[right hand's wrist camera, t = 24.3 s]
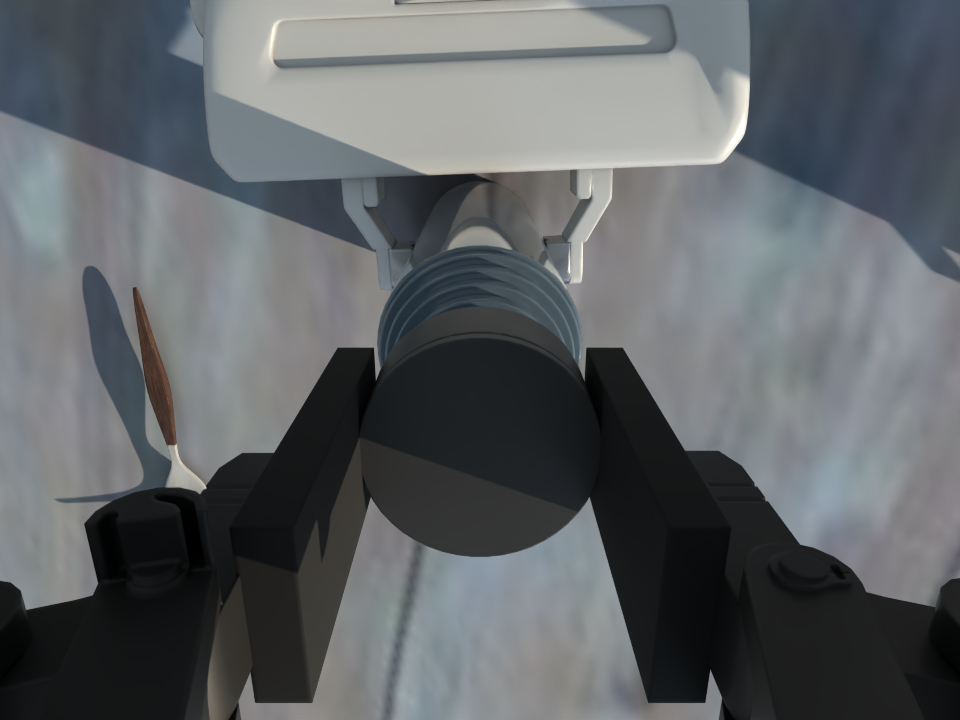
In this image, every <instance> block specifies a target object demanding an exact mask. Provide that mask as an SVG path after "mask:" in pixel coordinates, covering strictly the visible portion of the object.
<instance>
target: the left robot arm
mask: <svg viewBox="0 0 960 720" xmlns="http://www.w3.org/2000/svg"><path fill="white" fill-rule="evenodd" d="M190 6H191V12H192V16H193V19H194V22H195V25H196V27H197V30H198V31H199V33H200V35H201V36H202V37H203V77H204V98H205V110H206V121H207V131H208V139H209V146H210V151H211V154H212V157H213V158H214V160H215V161H216V162H217V163H218V164H219V166H220V167H221V168H222V169H223V170H224V171H225V172H226V173H227V174H228V175H229V176H230V177H231V178H232V179H233V180H235V181H237V182H266V181H291V180H317V179H341V184H342V194H343V203H344V209H345V211H346V212H347V213H348V215H349V216H350V218H351V219H352V220H353V222H354V223H355V225H356V226H357V228H358V229H359V230H360V232H361V233H362V235H363V236H364V238H365V239H366V240H367V242H368V243H369V245H370V246H371V247H372V249H373V250H376V254H377V265H378V276H379V285H380V289H381V290H393V288H394V286H395V284H396V282H397V280H398V278H399V276H400V274H401V272H402V270H403V268H404V266H405V264H406V262H407V260H408V258H409V256H410V254H411V252H412V250H413V248H414V246H415V244H416V241H397V240H396V239H395V237H394V235H393V234H392V232H391V231H390V229H389V228H388V226H387V225H386V223H385V221H384V220H383V218H382V217H381V215H380V214H379V212H378V211H377V209H376V206H377V205H378V204H379V203H381V202H382V201H383V200H384V199H385V185H384V177H395V176H421V175H446V174H472V173H498V172H524V171H550V170H570V191H571V192H572V193H573V194H574V195H576V196H577V197H578V198H579V199H581V200H580V202H579V204H578V206H577V207H576V209H575V211H574V213H573V215H572V216H571V218H570V220H569V222H568V224H567V226H566V227H565V229H564V231H563V233H562V235H559V236H543V241H544V243H545V245H546V247H547V249H548V251H549V253H550V255H551V257H552V259H553V261H554V263H555V265H556V267H557V269H558V271H559V274H560V276H561V278H562V280H563V282H564V284H569V283H581V280H582V259H583V242H586V241H587V239H588V237H589V236H590V234H591V232H592V231H593V229H594V227H595V226H596V224H597V222H598V221H599V219H600V217H601V216H602V214H603V212H604V211H605V209H606V207H607V206H608V204H609V202H610V201H611V199H612V174H613V168H627V167H653V166H679V165H704V164H719V163H721V162H723V161H724V160H725V159H726V158H727V157H728V156H729V155H730V154H731V152H732V151H733V150H734V149H735V147H736V146H737V145H738V143H739V142H740V141H741V139H742V138H743V136H744V134H745V130H746V125H747V117H748V107H749V91H750V20H749V3H748V0H190Z"/></svg>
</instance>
